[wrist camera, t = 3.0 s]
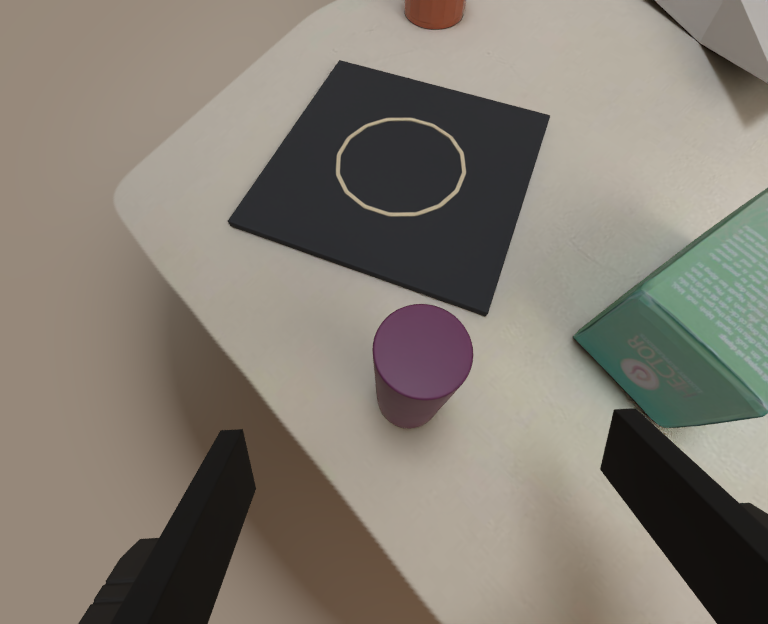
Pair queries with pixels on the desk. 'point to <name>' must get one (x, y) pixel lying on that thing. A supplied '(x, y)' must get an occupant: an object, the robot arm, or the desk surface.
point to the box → (695, 328)
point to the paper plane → (727, 29)
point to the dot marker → (419, 362)
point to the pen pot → (434, 12)
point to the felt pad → (400, 183)
